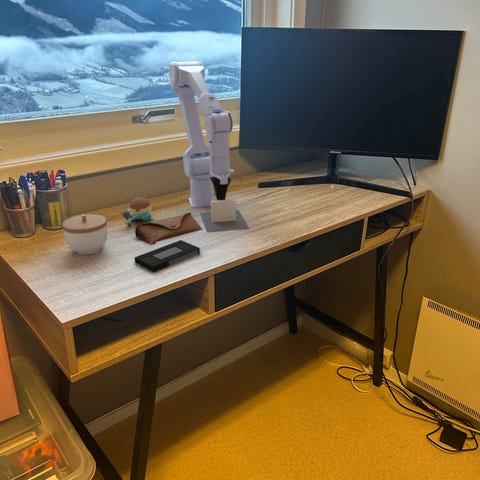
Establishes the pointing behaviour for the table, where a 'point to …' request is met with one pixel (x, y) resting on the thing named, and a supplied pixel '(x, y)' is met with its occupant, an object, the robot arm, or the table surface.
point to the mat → (223, 223)
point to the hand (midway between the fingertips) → (220, 201)
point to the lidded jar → (86, 233)
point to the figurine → (138, 210)
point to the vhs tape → (167, 255)
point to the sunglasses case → (166, 228)
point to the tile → (223, 210)
